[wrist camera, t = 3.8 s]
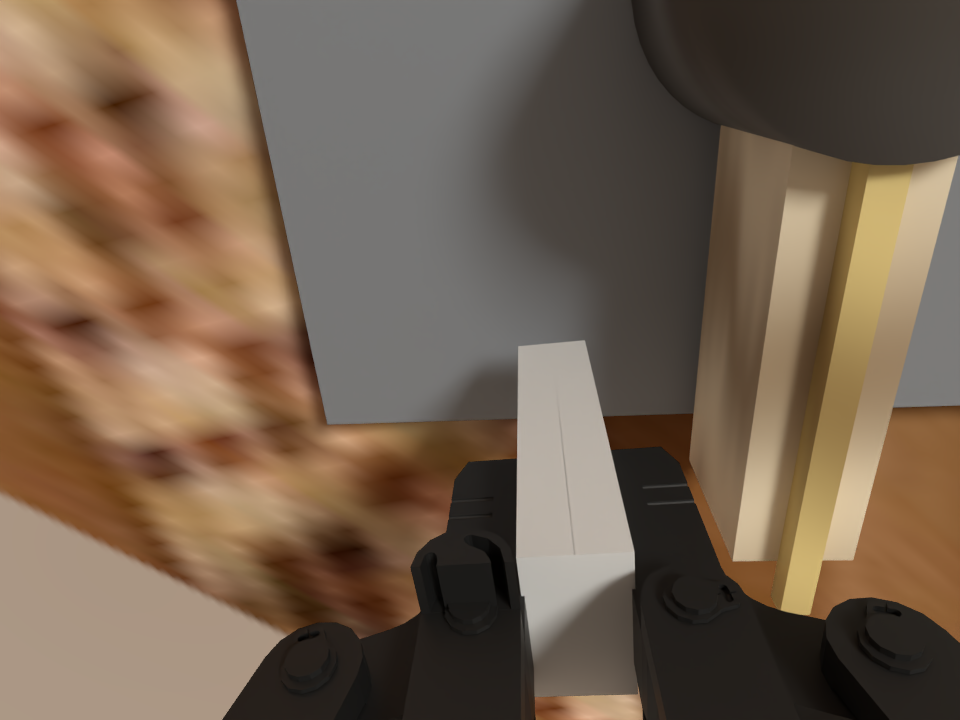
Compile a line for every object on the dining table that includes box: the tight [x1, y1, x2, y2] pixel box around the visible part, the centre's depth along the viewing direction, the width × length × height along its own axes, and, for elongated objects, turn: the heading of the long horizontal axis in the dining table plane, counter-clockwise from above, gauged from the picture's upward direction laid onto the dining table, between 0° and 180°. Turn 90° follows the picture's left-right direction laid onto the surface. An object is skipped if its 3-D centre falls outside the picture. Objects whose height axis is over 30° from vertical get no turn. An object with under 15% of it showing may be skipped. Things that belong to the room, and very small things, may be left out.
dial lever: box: [631, 0, 960, 615], centre depth 11 cm, size 15×6×5 cm, turn 4°
